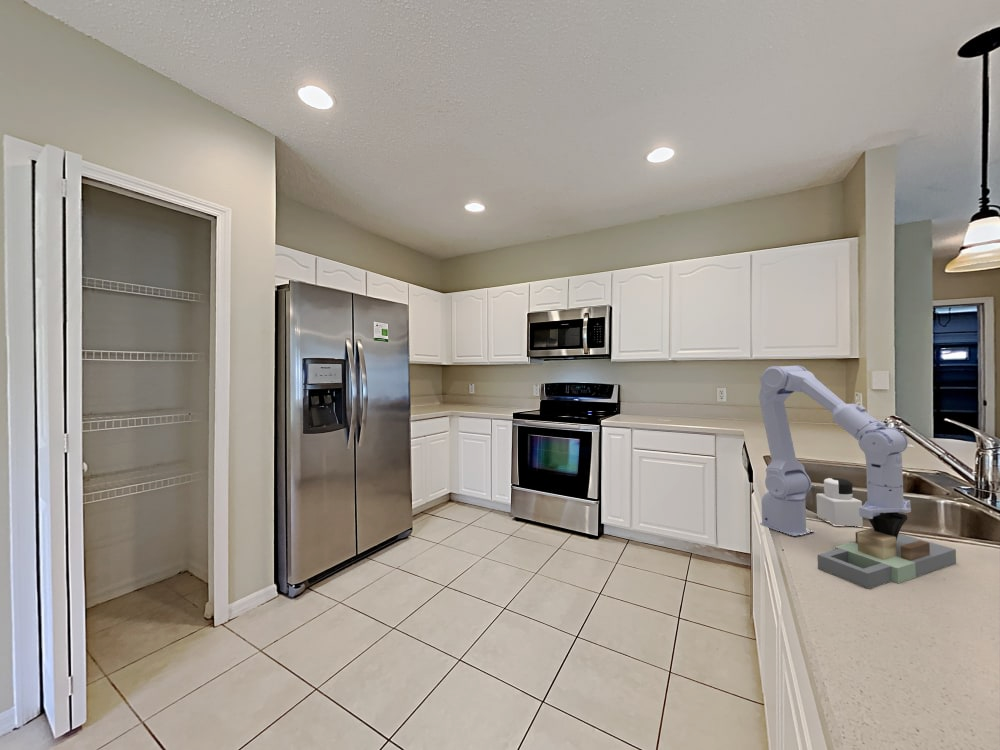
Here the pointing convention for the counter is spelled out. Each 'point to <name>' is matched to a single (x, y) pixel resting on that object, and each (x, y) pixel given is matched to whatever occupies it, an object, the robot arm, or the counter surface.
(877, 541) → the maple block
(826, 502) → the white stepped box
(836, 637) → the counter surface
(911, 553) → the brown rectangular blocks
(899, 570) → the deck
